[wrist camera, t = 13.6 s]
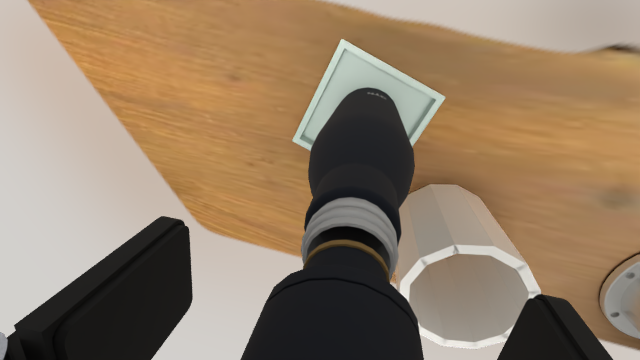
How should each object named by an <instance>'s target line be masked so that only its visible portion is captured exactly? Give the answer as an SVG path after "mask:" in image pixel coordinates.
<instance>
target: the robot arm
mask: <svg viewBox="0 0 640 360" xmlns="http://www.w3.org/2000/svg"><path fill="white" fill-rule="evenodd" d="M191 303H192V277H191V257H190V238H189V228H188V227H187V226H185V224H184V222H183V221H182V220H179V219H174V218H170V217H165V216H161V217H160V218H158V219H156V220H155V221H154V222H152V223H151V224H150V225H149V226H147V227H146V228H144V229H143V230H142V231H141V232H139V233H138V234H136V235H135V236H134V237H132V238H131V239H129V240H128V241H127V242H125V243H124V244H123V245H121V246H120V247H119V248H118V249H116V250H115V251H113V252H112V253H111V254H109V255H108V256H107V257H105V258H104V259H103V260H101V261H100V262H99V263H97V264H96V265H94V266H93V267H92V268H90V269H89V270H88V271H87V272H85V273H84V274H82V275H81V276H80V277H78V278H77V279H76V280H74V281H73V282H72V283H70V284H69V285H68V286H66V287H65V288H64V289H62V290H61V291H59V292H58V293H57V294H56V295H54V296H53V297H51V298H50V299H49V300H47V301H46V302H45V303H43V304H42V305H41V306H39V307H38V308H37V309H35V310H34V311H33V312H31V313H30V314H29V315H27V316H26V317H24V318H23V319H22V320H20V321H19V322H18V323H16V324H15V325H14V326H15V329H16V331H15V332H14V333H12V334H11V335H10V336H8V337H7V338H6V337H5V335H4V334H3V333H0V360H151V359H152V358H153V356H154V355H155V354H156V352H157V351H158V350H159V348H160V347H161V346H162V344H163V343H164V342H165V340H166V339H167V338H168V336H169V335H170V334H171V332H172V331H173V330H174V328H175V327H176V325H177V324H178V323H179V322H180V320H181V319H182V318H183V316H184V315H185V313H186V312H187V311H188V309H189V307H190V305H191ZM600 306H601V310H602V312H603V313H604V315H605V317H606V318H607V319H608V320H609V321H610V322H611V324H612V325H613V326H615V327H616V328H617V329H618V330H619V331H621V332H623V333H625V334H627V335H629V336H632V337H635V338H638V339H640V254H639V255H636V256H634V257H633V258H631V259H629V260H627V261H625V262H624V263H623V264H621V265H620V266H619V267H617V268H616V269H615V270H614V271H613V272H612V273H611V274H610V275H609V276H608V278H607V279H606V281H605V283H604V284H603V286H602V289H601V292H600ZM497 360H613V359H612V358H611V356H610V355H609V354H608V352H607V351H606V350H605V348H604V347H603V346H602V344H601V343H600V342H599V341H598V339H597V338H596V337H595V335H594V334H593V333H592V331H591V330H590V329H589V328H588V326H587V325H586V324H585V322H584V321H583V320H582V318H581V317H580V316H579V315H578V313H577V312H576V311H575V309H574V308H573V307H572V305H571V304H570V303H569V302H568V301H567V300H565V299H562V298H557V297H552V296H547V295H543V294H537V295H536V296H535V297H534V298H529V299H528V300H527V301H526V303H525V305H524V307H523V309H522V311H521V313H520V315H519V317H518V319H517V321H516V323H515V325H514V327H513V329H512V331H511V333H510V335H509V337H508V339H507V341H506V343H505V345H504V347H503V349H502V351H501V353H500V355H499V357H498V359H497Z"/></svg>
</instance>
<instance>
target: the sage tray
mask: <svg viewBox="0 0 640 360" xmlns="http://www.w3.org/2000/svg"><path fill="white" fill-rule="evenodd" d="M366 87H370V88H376V89H379V90H381V91H383V92H385V93H387V94H388V95H389V96H390V97H391V99H392V100H393V101H394V103H395V105H396V107H397V110H398V112H399V115H400V117H401V120H402V122H403V125H404V128H405V130H406V133H407V135H408V138H409V140H410V143H411V145H412V147H413V145H414V144H415V142H416V141H417V139H418V138H419V136H420V135H421V133H422V132H423V130H424V129H425V127H426V126H427V124H428V123H429V121H430V120H431V118H432V117H433V115H434V114H435V113H436V111H437V110H438V108H439V107H440V105H441V104H442V102H443V101H444V99H445V98H446V97H445V96H443V95H442V94H440V93H438V92H436V91H435V90H433V89H431V88H429V87H427V86H426V85H424V84H422V83H420V82H418V81H417V80H415V79H413V78H411V77H410V76H408V75H406V74H404V73H402V72H401V71H399V70H397V69H395V68H394V67H392V66H390V65H388V64H386V63H385V62H383V61H381V60H379V59H378V58H376V57H374V56H372V55H370V54H369V53H367V52H365V51H363V50H362V49H360V48H358V47H356V46H354V45H353V44H351V43H349V42H347V41H345V40H344V39H341V41H340V43H339V45H338V47H337V50H336V52H335V54H334V56H333V58H332V60H331V62H330V64H329V66H328V68H327V70H326V72H325V74H324V76H323V78H322V80H321V82H320V85H319V87H318V89H317V91H316V93H315V95H314V97H313V99H312V101H311V103H310V105H309V107H308V109H307V111H306V113H305V115H304V117H303V120H302V122H301V124H300V126H299V128H298V130H297V132H296V134H295V136H294V138H293V140H292V141H293V142H295V143H297V144H299V145H301V146H302V147H304V148H306V149H308V150H310V151H311V147H312V145H313V143H314V141H315V139H316V137H317V135H318V133H319V132H320V130H321V129H322V128H323V126H324V125H325V123H326V122H327V121H328V119H329V118H330V116H331V115H332V114H333V112H334V111H335V109H336V108H337V106H338V105H339V104H340V102H341V101H342V100H343V99H344V98H345V97H346V96H347V95H348V94H349V93H351V92H353V91H354V90H356V89H360V88H366Z"/></svg>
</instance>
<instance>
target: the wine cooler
mask: <svg viewBox="0 0 640 360" xmlns="http://www.w3.org/2000/svg"><path fill="white" fill-rule="evenodd" d="M399 214H400V222H401V231H402V234H401V238H400V241H399V245H398V254H399V258H398V262H397V265H396V269H395V273H396V285H397V291H398V292H400V293H401V294H402V295H403V296H404V297H405V298H406V299H407V301H408V302H409V304H410V306H411V308H412V310H413V312H414V314H415V315H416V317H417V320H418V326H419V332H420V335H422V336H424V337H426V338H428V339H430V340H432V341H433V342H435V343H437V344H439V345H441V346H449V347H458V348H468V349H479V348H482V347H486V346H490V345H493V344H497V343H501V342H504V341H507V339H508V337H509V335H510V333H511V331H512V329H513V327H514V325H515V323H516V321H517V319H518V317H519V315H520V313H521V311H522V309H523V307H524V305H525V303H526V301H527V300H528V299H529V298H534V297H535V296H536V295H537V294H541V290H540V288H539V286H538V284H537V282H536V280H535V278H534V276H533V274H532V272H531V271H530V269H529V267H528V265H527V263H526V261H525V260H524V259H523V257H522V256H521V254H520V253H519V252H518V250H517V249H516V248H515V246H514V245H513V243H512V242H511V241H510V239H509V238H508V236H507V235H506V234H505V232H504V231H503V229H502V228H501V227H500V225H499V224H498V223H497V221H496V220H495V218H494V217H493V216H492V214H491V213H490V211H489V210H488V209H487V207H486V206H485V204H484V203H483V202H482V200H481V199H480V197H478V196H477V195H475V194H473V193H471V192H469V191H467V190H466V189H464V188H462V187H460V186H458V185H457V184H456V185H451V184H429V185H427V186H425V187H423V188H421V189H419V190H416V191H414V192H412V193H410V194H408V195H407V198H406V199H405V201H404V202H403V204H402V205H401V207H400V208H399ZM454 254H457V255H454ZM451 255H454V256H452V257H449V256H451ZM446 257H449V258H446ZM444 258H446V259H444Z"/></svg>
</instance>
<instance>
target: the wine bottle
mask: <svg viewBox="0 0 640 360" xmlns="http://www.w3.org/2000/svg"><path fill="white" fill-rule="evenodd" d="M414 167H415V165H414V152H413V148H412V145H411V143H410V140H409V138H408V135H407V133H406V130H405V128H404V125H403V122H402V120H401V117H400V115H399V112H398V110H397V107H396V105H395V103H394V101H393V100H392V99H391V97H390V96H389V95H388V94H387V93H385V92H383V91H381V90H379V89H376V88H370V87H366V88H360V89H356V90H354V91H353V92H351V93H349V94H348V95H347V96H346V97H345V98H344V99H343V100H342V101H341V102H340V104H339V105H338V106H337V108H336V109H335V111H334V112H333V114H332V115H331V116H330V118H329V119H328V121H327V122H326V123H325V125H324V126H323V128H322V129H321V130H320V132H319V133H318V135H317V137H316V139H315V141H314V143H313V145H312V147H311V154H310V162H309V170H308V173H309V183H310V188H311V193H312V196H313V199H312V201H311V204H310V206H309V208H308V211H307V213H306V218H305V226H304V229H305V234H304V236H303V239H302V246H301V252H302V256H303V258H302V260H303V263H304V266H303V270H300V271H297V272H294V273H291V274H290V275H288V276H287V277H286V278H285V279H283V280H282V281H281V282H280V283H279V284H277V285H276V286H275V287H274V288H273V290H272V292H271V294H270V296H269V297H268V299H267V301H266V303H265V305H264V307H263V310H262V312H261V315H260V317H259V319H258V321H257V324H256V326H255V328H254V330H253V333H252V335H251V337H250V339H249V342H248V344H247V346H246V348H245V351H244V353H243V355H242V358H241V360H424V358H423V352H422V345H421V339H420V332H419V326H418V320H417V317H416V315H415V314H414V312H413V310H412V308H411V306H410V304H409V302H408V301H407V299H406V298H405V297H404V296H403V295H402V294H401V293H400V292H398V291H397V290H396V289H395V288H394V287H393V286H392V285H391V284H390V279H391V278H392V274H393V272H394V271H395V269H396V265H397V262H398V258H399V254H398V245H399V241H400V238H401V234H402V231H401V222H400V214H399V208H400V207H401V205H402V204H403V202H404V201H405V199H406V198H407V195H408V192H409V189H410V185H411V181H412V177H413V174H414Z"/></svg>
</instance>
